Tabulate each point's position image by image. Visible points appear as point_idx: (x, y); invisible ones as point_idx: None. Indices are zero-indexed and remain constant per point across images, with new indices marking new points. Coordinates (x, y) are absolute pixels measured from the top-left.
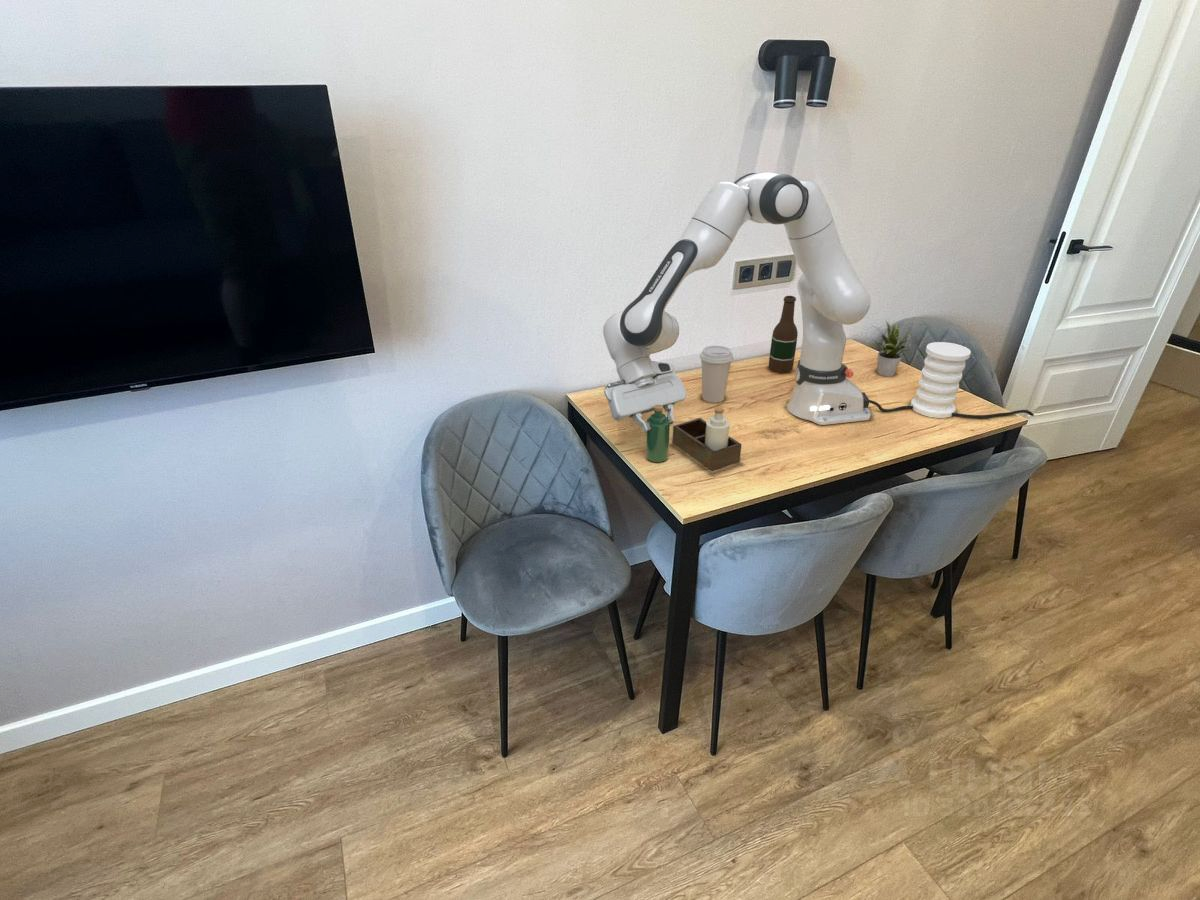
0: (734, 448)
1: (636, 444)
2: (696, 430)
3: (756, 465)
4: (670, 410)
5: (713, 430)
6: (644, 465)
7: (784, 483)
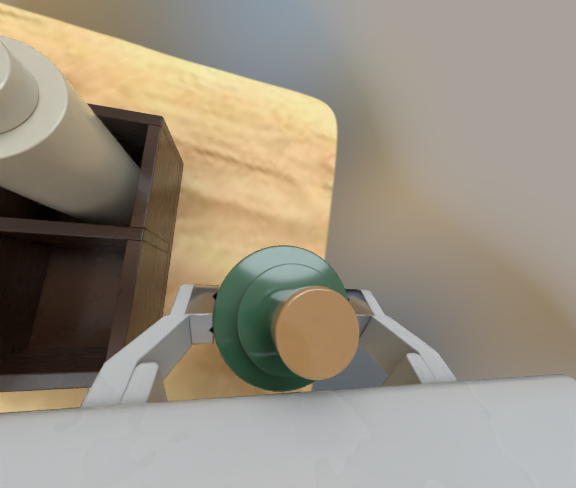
0: None
1: None
2: (12, 357)
3: None
4: (153, 352)
5: (75, 91)
6: None
7: (61, 27)
